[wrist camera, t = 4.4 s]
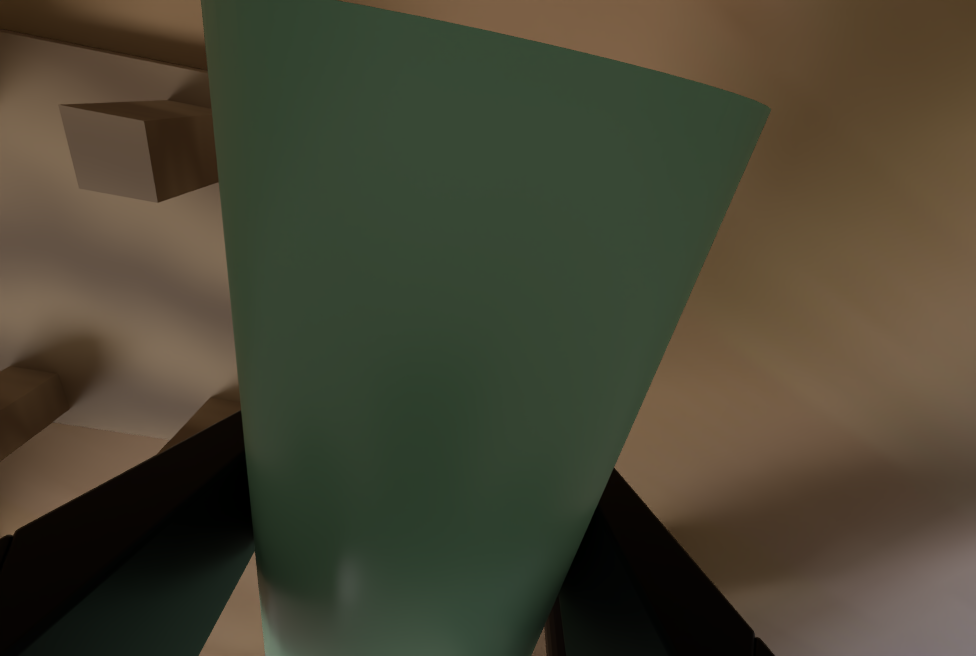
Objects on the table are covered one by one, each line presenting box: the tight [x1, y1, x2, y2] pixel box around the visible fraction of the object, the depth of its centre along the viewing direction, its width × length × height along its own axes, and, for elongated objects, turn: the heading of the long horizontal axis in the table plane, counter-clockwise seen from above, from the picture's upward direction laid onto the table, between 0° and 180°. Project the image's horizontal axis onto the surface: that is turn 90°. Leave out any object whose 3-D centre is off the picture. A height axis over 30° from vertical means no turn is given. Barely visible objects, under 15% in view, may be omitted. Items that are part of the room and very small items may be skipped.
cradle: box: [0, 29, 241, 461], centre depth 16 cm, size 16×12×5 cm
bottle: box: [201, 0, 771, 656], centre depth 8 cm, size 17×4×4 cm, turn 169°
